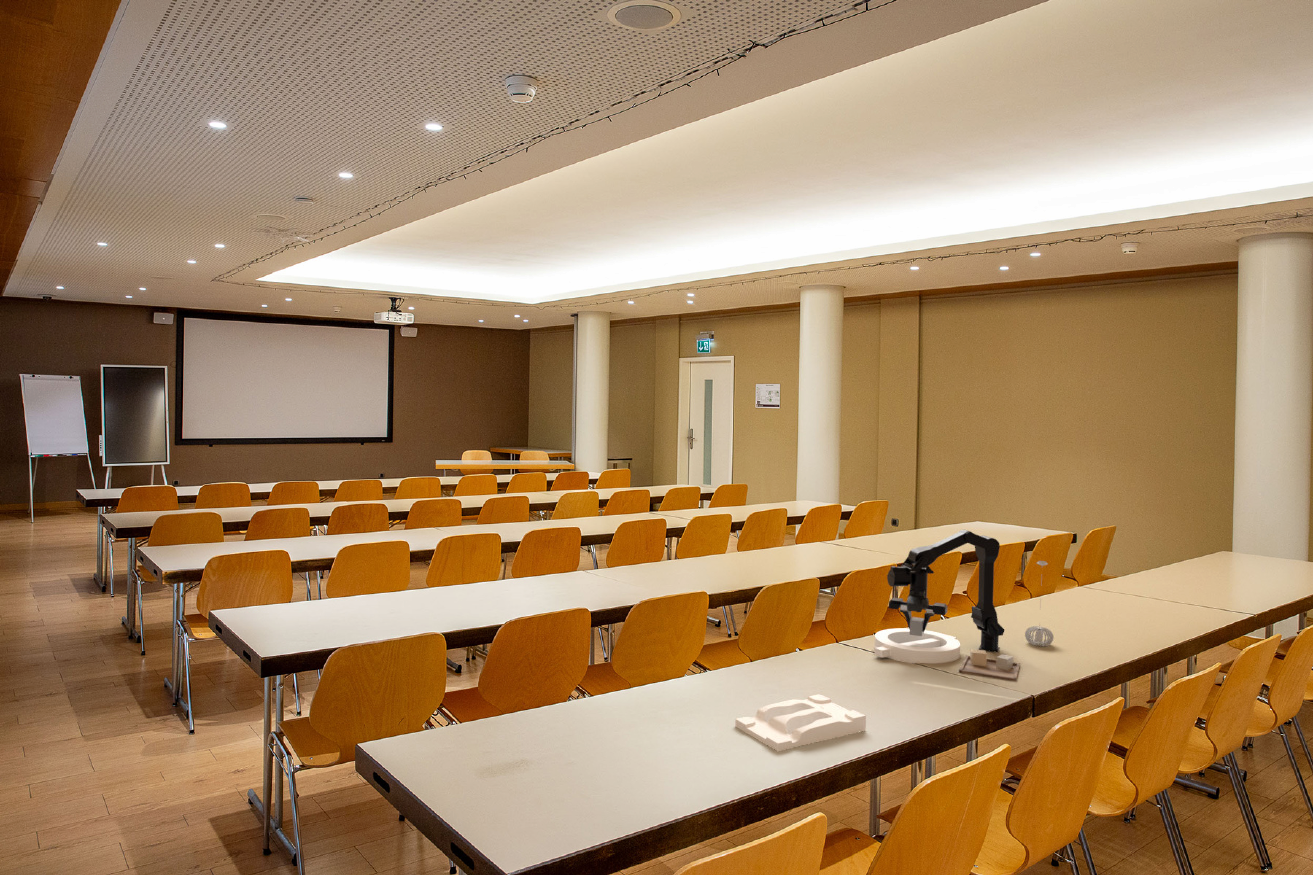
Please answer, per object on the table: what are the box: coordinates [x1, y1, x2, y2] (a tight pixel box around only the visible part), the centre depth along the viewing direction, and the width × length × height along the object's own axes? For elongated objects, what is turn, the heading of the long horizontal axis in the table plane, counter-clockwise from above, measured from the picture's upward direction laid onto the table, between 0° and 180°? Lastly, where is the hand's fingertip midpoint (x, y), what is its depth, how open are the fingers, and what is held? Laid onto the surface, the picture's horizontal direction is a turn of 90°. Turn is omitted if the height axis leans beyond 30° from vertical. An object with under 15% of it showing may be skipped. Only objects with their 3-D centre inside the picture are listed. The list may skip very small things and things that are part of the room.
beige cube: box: [995, 653, 1014, 670], centre depth 271 cm, size 4×4×4 cm
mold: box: [734, 694, 867, 752], centre depth 217 cm, size 18×29×5 cm, turn 120°
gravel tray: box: [958, 655, 1021, 682], centre depth 269 cm, size 18×17×1 cm
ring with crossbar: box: [874, 627, 961, 664], centre depth 288 cm, size 28×28×5 cm
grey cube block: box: [910, 616, 924, 636], centre depth 287 cm, size 5×4×5 cm
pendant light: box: [1024, 560, 1054, 647], centre depth 300 cm, size 9×9×30 cm
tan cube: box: [969, 648, 988, 666], centre depth 274 cm, size 4×4×4 cm
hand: (917, 630), depth 288 cm, fingers closed on grey cube block, 4 cm apart
